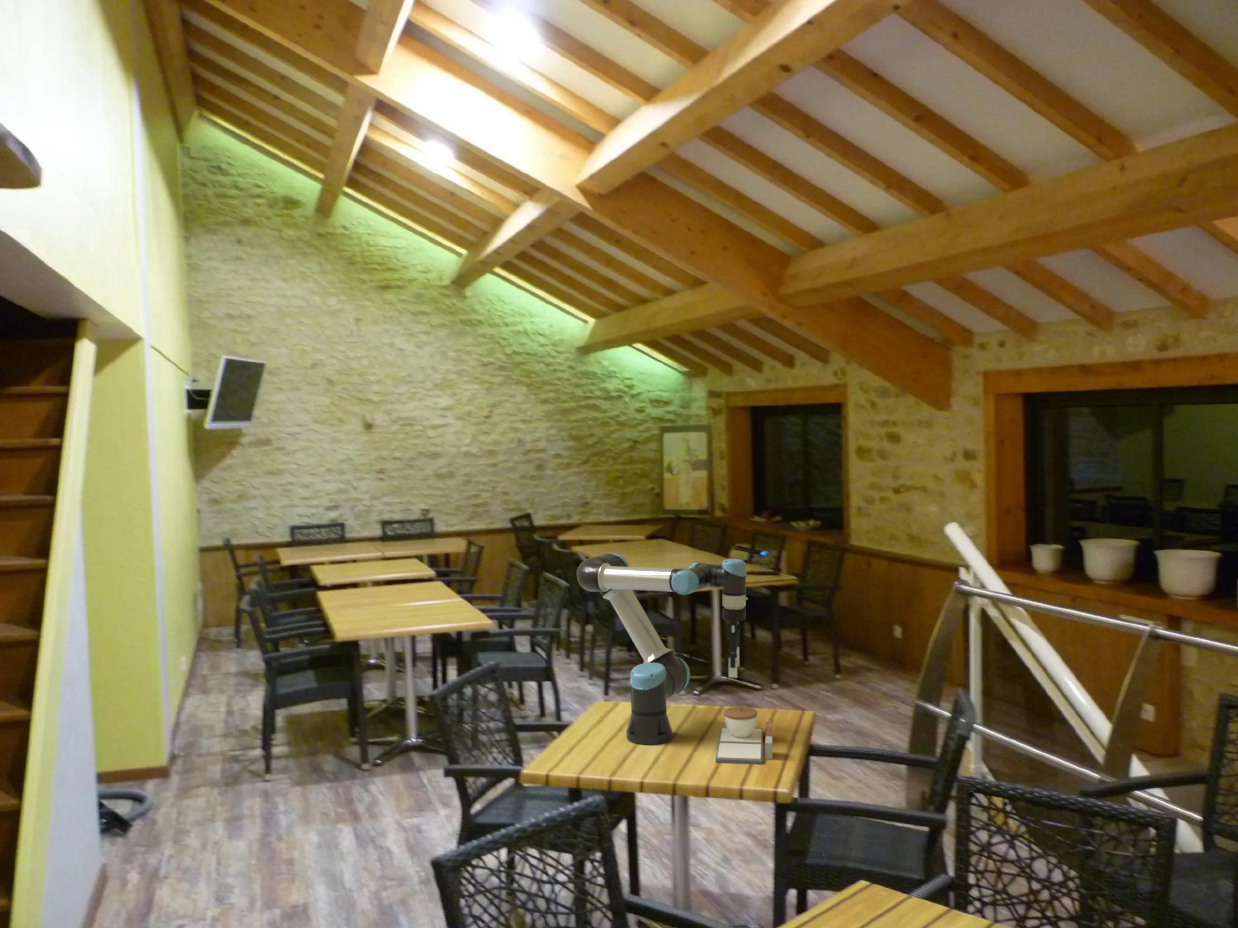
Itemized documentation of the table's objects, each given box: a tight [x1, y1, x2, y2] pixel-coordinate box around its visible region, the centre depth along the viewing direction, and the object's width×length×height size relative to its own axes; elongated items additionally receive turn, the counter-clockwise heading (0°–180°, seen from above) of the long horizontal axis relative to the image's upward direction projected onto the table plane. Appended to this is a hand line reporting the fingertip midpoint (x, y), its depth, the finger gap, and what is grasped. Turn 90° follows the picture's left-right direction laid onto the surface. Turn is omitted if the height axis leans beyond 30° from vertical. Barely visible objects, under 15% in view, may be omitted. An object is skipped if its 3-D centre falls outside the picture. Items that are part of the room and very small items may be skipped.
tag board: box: [715, 721, 773, 765], centre depth 302 cm, size 17×30×5 cm, turn 171°
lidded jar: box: [723, 705, 758, 738], centre depth 310 cm, size 11×11×9 cm
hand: (734, 671), depth 311 cm, fingers open, 13 cm apart
